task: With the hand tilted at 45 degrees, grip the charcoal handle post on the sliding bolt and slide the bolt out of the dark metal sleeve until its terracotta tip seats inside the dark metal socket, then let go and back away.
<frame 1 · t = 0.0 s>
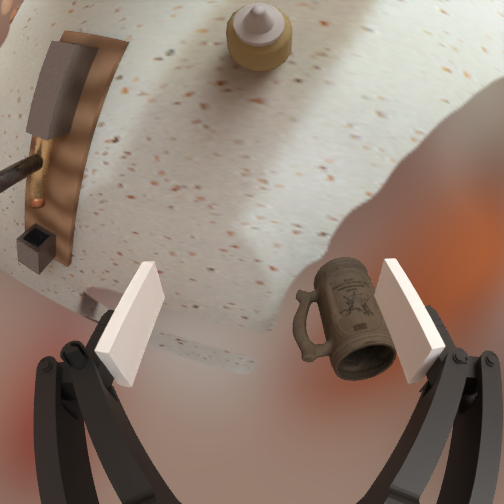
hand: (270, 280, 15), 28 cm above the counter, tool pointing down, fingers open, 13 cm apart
sliding bolt: (14, 147, 24), point 13 cm above the counter, slide at 0.0 cm
squeeze bottle: (260, 48, 30), on the counter
base board: (57, 156, 38), on the counter
beer stein: (328, 281, 51), on the counter
socket: (36, 248, 43), on the base board, point 5 cm above the counter
outer sleeve: (59, 88, 27), on the base board, point 5 cm above the counter
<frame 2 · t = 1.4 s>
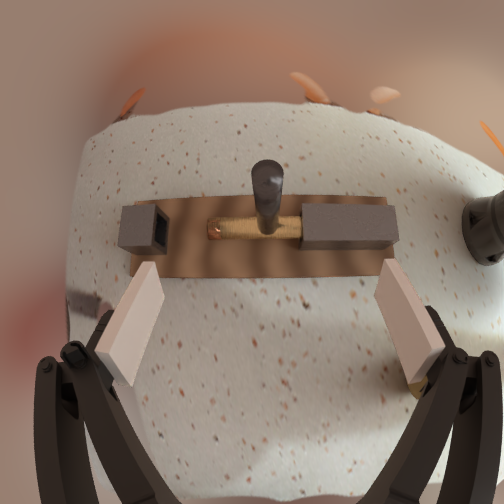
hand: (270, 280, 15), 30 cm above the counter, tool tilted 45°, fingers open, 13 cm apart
sliding bolt: (303, 209, 34), point 13 cm above the counter, slide at 0.0 cm
base board: (261, 236, 46), on the counter
socket: (144, 231, 43), on the base board, point 5 cm above the counter
outer sleeve: (347, 228, 41), on the base board, point 5 cm above the counter
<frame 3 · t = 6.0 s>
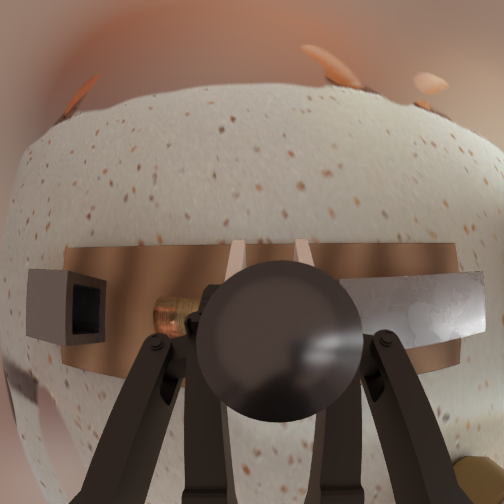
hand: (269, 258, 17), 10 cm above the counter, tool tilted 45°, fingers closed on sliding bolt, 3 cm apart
sliding bolt: (355, 320, 13), point 13 cm above the counter, slide at 0.0 cm, touching gripper
squeeze bottle: (457, 471, 19), on the counter
base board: (258, 318, 26), on the counter
socket: (66, 307, 22), on the base board, point 5 cm above the counter
outer sleeve: (408, 311, 21), on the base board, point 5 cm above the counter
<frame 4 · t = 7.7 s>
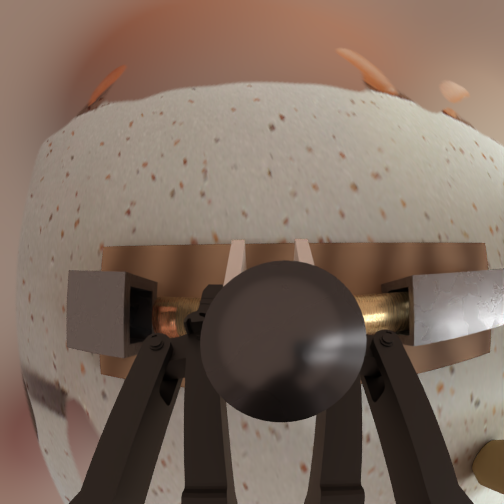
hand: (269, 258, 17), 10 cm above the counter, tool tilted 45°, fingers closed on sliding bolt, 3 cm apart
sliding bolt: (355, 319, 13), point 13 cm above the counter, slide at 6.3 cm, touching gripper
squeeze bottle: (483, 455, 19), on the counter
base board: (321, 316, 26), on the counter
socket: (113, 313, 22), on the base board, point 5 cm above the counter
outer sleeve: (456, 304, 21), on the base board, point 5 cm above the counter
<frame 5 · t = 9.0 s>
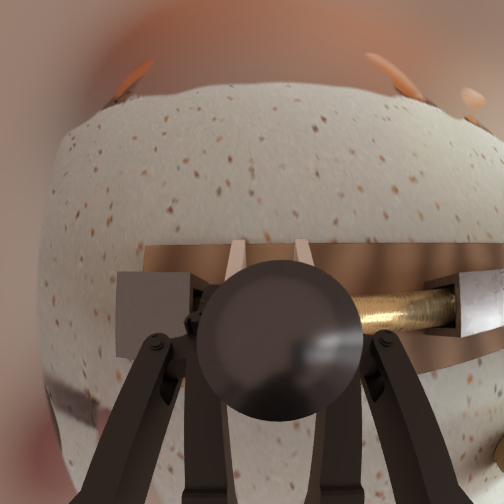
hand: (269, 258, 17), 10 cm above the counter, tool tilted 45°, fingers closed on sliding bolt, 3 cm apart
sliding bolt: (355, 319, 13), point 13 cm above the counter, slide at 11.5 cm, touching gripper
squeeze bottle: (503, 444, 19), on the counter
base board: (370, 313, 25), on the counter
socket: (166, 317, 22), on the base board, point 5 cm above the counter
outer sleeve: (488, 299, 20), on the base board, point 5 cm above the counter
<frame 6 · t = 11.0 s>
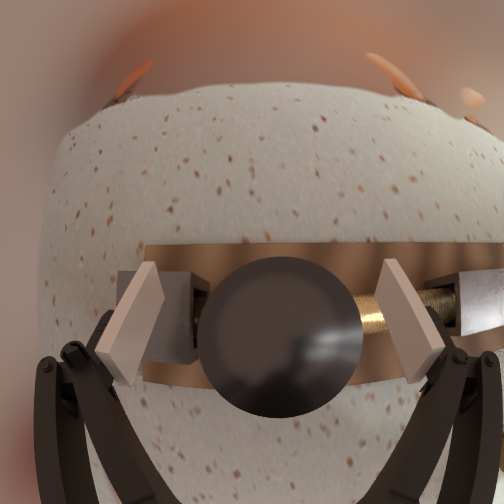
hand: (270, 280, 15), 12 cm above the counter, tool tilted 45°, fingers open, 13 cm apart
sliding bolt: (355, 318, 13), point 13 cm above the counter, slide at 11.5 cm
squeeze bottle: (503, 444, 19), on the counter
base board: (370, 312, 26), on the counter
socket: (166, 316, 22), on the base board, point 5 cm above the counter
outer sleeve: (488, 298, 20), on the base board, point 5 cm above the counter
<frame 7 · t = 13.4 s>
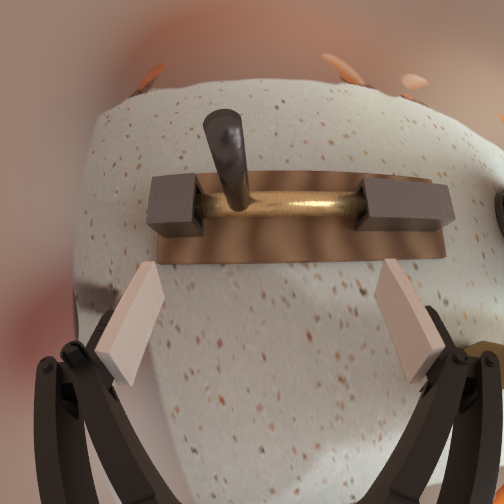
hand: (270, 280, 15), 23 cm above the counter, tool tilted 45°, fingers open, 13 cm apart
sliding bolt: (276, 176, 28), point 13 cm above the counter, slide at 11.5 cm
squeeze bottle: (466, 361, 34), on the counter
base board: (312, 216, 40), on the counter
socket: (178, 207, 36), on the base board, point 5 cm above the counter
outer sleeve: (404, 207, 35), on the base board, point 5 cm above the counter
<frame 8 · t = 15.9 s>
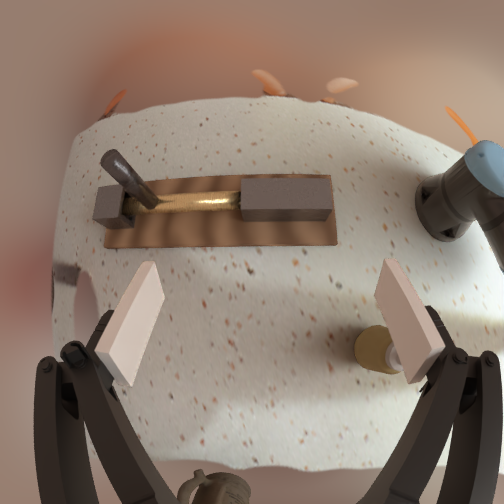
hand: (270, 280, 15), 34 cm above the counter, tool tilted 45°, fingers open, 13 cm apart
sliding bolt: (161, 184, 40), point 13 cm above the counter, slide at 11.5 cm
squeeze bottle: (367, 345, 45), on the counter
base board: (213, 211, 52), on the counter
beer stein: (217, 482, 40), on the counter
socket: (116, 207, 48), on the base board, point 5 cm above the counter
outer sleeve: (285, 200, 47), on the base board, point 5 cm above the counter
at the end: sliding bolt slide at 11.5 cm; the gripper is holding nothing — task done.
